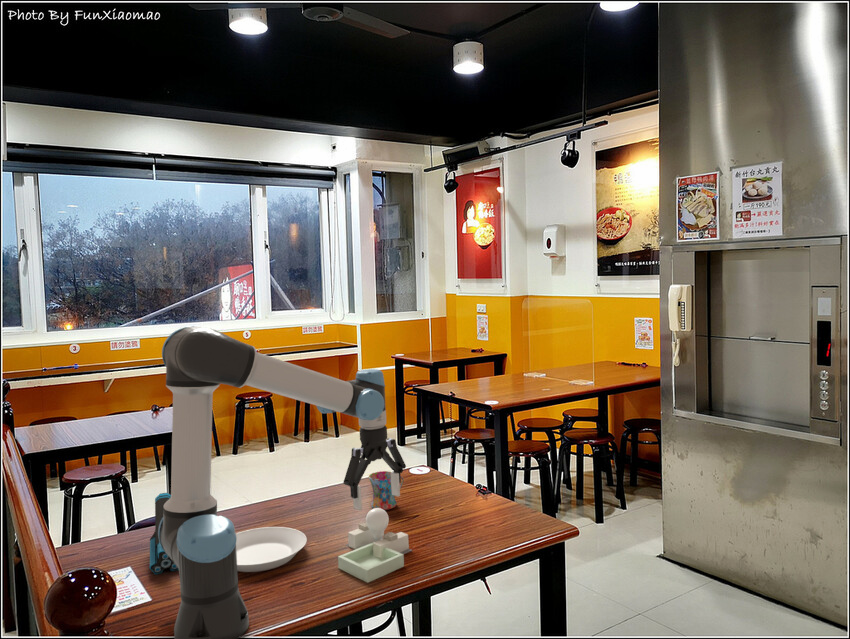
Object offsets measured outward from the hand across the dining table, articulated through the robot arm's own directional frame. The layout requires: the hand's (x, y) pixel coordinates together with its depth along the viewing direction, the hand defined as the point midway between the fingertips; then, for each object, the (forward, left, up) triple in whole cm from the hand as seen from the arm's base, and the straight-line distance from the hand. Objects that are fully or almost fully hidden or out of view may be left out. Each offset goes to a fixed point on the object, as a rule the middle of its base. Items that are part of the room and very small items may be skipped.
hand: (377, 502), depth 174 cm
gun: (-42, +42, -13) cm, 61 cm away
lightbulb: (0, 0, -13) cm, 13 cm away
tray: (-9, -8, -13) cm, 18 cm away
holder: (0, 0, -13) cm, 13 cm away
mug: (+23, +23, -13) cm, 35 cm away
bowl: (-25, +20, -13) cm, 35 cm away
